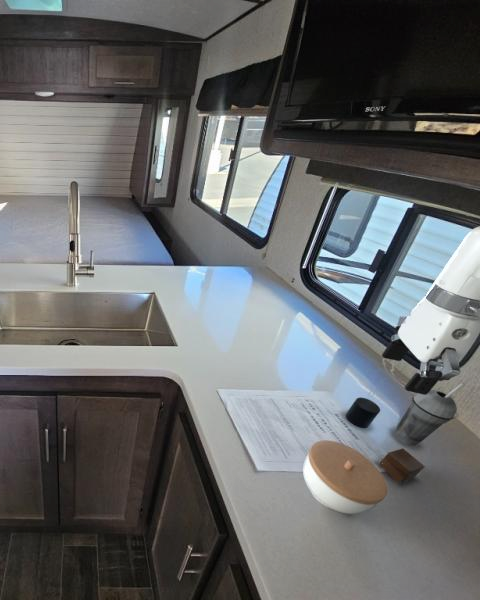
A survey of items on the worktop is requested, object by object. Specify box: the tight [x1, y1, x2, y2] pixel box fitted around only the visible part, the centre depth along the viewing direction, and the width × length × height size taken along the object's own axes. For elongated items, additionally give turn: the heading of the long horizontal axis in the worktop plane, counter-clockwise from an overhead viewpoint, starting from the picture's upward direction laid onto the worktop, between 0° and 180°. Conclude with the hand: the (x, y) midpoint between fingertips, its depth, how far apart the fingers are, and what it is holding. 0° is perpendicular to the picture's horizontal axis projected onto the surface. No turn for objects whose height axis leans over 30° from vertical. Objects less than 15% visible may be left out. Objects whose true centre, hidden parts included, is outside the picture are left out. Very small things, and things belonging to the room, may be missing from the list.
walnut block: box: [378, 447, 426, 484], centre depth 72 cm, size 4×4×4 cm
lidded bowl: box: [302, 439, 389, 515], centre depth 65 cm, size 13×13×11 cm
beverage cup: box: [393, 382, 466, 447], centre depth 76 cm, size 7×7×20 cm
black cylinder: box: [345, 396, 381, 429], centre depth 83 cm, size 5×5×6 cm
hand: (401, 374), depth 63 cm, fingers open, 9 cm apart
